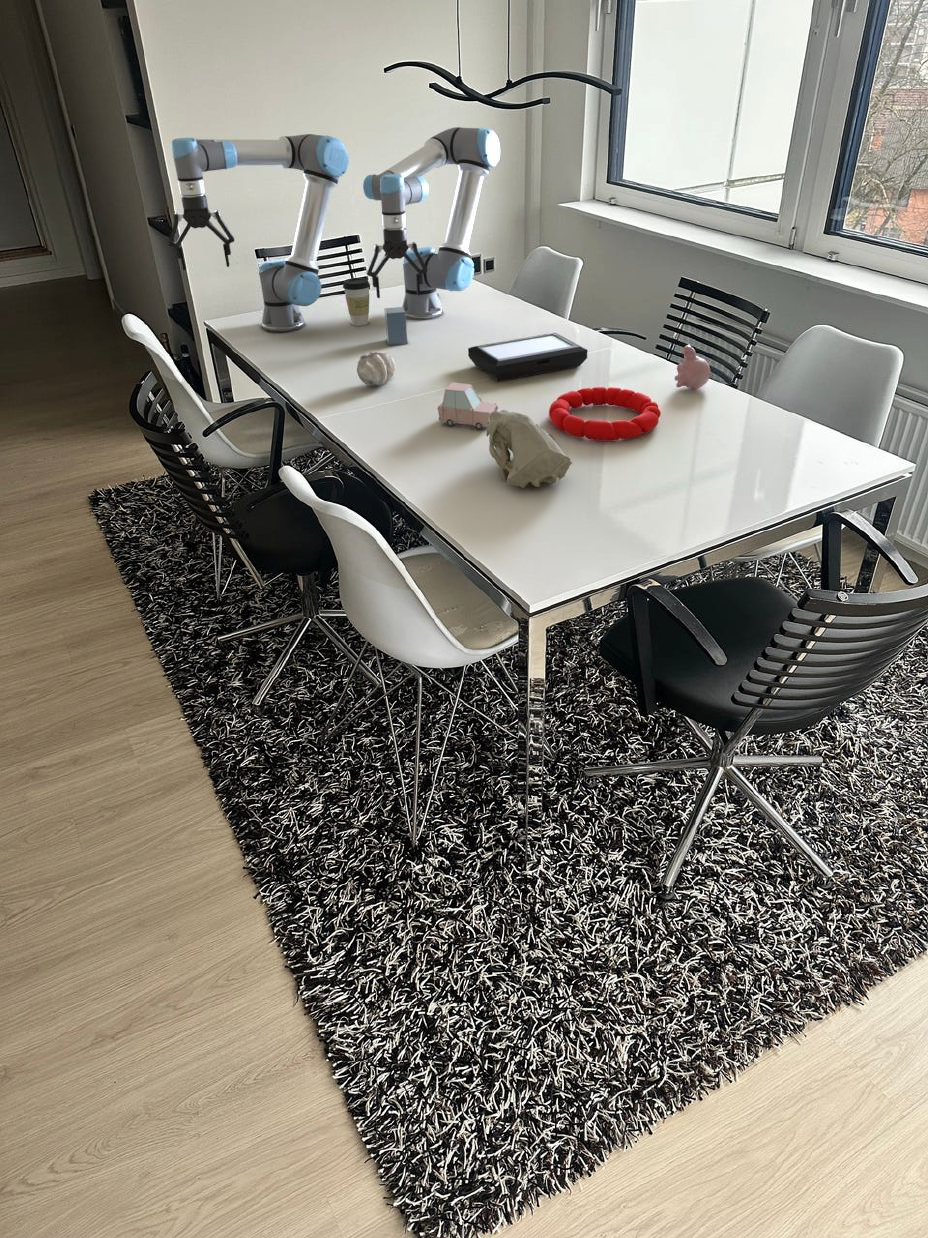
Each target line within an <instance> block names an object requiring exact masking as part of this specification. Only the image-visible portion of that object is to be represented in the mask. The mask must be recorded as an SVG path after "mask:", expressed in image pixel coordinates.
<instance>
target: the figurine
mask: <svg viewBox="0 0 928 1238" xmlns="http://www.w3.org/2000/svg"><path fill="white" fill-rule="evenodd" d="M682 354H683V358H684V359H683V361H682V362H679V363H678V364H677V365H676V372H677V375H675V376H674V381H675V382H676V381H677V382H676V384H675V386H676V388H681V387H686V388H688V389H693V390H694V389H695V390H696V389H700V388H703V387H704V386H705V385H706V384H707V383H708V382H709V379H710V377H711V367H710V364H709V362H708V361H706V359H704V358H702V357H700V356H697V353H696V350H695V349H694V347H692V345H690V344H686V345H685V346H684V347H683V348H682Z"/></svg>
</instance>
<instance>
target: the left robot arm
mask: <svg viewBox="0 0 928 1238" xmlns="http://www.w3.org/2000/svg"><path fill="white" fill-rule="evenodd" d="M170 145H171V151H172V159H173V163H174V167H175V172H176V177H177V184H178V188H179V194H180V195H181V198H180V199H181V204H182V211H183V213H178V212H175V213H174V214H173V221H174V222H173V226H172V230H171V233H170V237H169V241H168V246H169V247H172V248H174V249H175V253H176V258H177V259H178V260H181V265H182V271H187V265H186V259H185V254H184V249H183V246H181V244H182V242H183V241H184V239H185V238H186V236H187V234H188V232H189V231H190V229H191V228H192V229H198V228H200V229H205V228H206V227H207V228H208V230H210V231H211V232H213V233H214V235H216V237H218V238H219V239H220V240H221V242H223V244H222V246H223V252H224V259H225V263H226V265H225V266H226V267H227V268H229V267H230V260H229V256H231V255H232V250H231V244H232V243H234V242H235V237H234V235H233V233H232V232H231V231H230V229H229V227H228V226H227V224H226V223H225V222H224V220H223V218H222V216H221V213H220V211H219V210H218V209H216V210H215V211H210V209H209V204H208V199H207V196H206V194H205V193H206V187H205V182H204V177H203V173H206V172H213V171H221V170H228V169H233V168H235V167H236V166H237V167H238V166H239V167H241V166H280V167H281V168H282V169H292V170H293V169H294V170H297V171H303V172H302V173H303V174H302V175H303V178H304V180H305V186H304V190H303V191H304V192H303V196H302V201H301V207H300V210H299V215H298V221H297V226H296V230H295V235H294V240H293V244H292V250H291V255H290V256H289V257H287V258H277V259H271V260H266V261H262V262H260V263H259V264H258V275H259V281H260V287H261V292H262V293H261V294H262V299H263V313H262V319H261V326H262V330H264V331H265V332H271V333H286V332H293V331H296V330H297V331H298V330H300V329H302V328H304V326H305V318H304V317H303V314H302V312H301V310H300V307H308V306H311V305H313V304H314V303H315V302H317V301H318V300H319V297H320V295H321V292H322V282H321V281H320V280H321V279H320V277H318V276H319V273H320V268H319V266H318V265H317V260H318V256H319V251H320V246H321V241H322V236H323V232H324V227H325V223H326V218H327V212H328V208H329V203H330V200H331V194H332V191H333V189H335V188H336V187H338V184H339V180H340V177H342V176H343V175H344V174H345V173H347V170H348V168H349V164H350V157H349V152H348V149H347V147H346V146H345V144H344V142H343V141H341V140H340V139H339V138H337V137H334V136H330V135H323V134H321V135H320V134H315V133H314V134H313V133H307V134H304V133H303V134H297V135H288V136H286V135H285V136H283V135H282V136H280V137H279V138H278V139H222V138H221V139H217V138H215V139H214V138H213V139H212V138H211V139H204V138H203V139H201V138H194V137H178V138H174V139H172V140H171V143H170ZM211 217H213V219H214V220H216V221H217V223H218V224H219V226H220V228H221V229H222V230H223V232H224V233H225V235H226V236H227V237H226V236H225V235H224V234H223V232H221V231H220V230H219V229H218V228H217V227H216V226H215V225H214V224H213V222H211V220H210V219H211ZM182 219H184V221H185V222H186V225H185V226H184V228H183V230H182V232H181V233H180V234H179V237H178V238H177V240H176V241H175V238H176V234H177V231H178V228H179V222H181V221H182Z"/></svg>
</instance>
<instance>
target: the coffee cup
mask: <svg viewBox="0 0 928 1238" xmlns="http://www.w3.org/2000/svg"><path fill="white" fill-rule="evenodd" d="M370 287H371V283H370V282H369V279H367V278H365V277H351V278H347V279H345V280H344V281H343V285H342V288H343V290H344V297H345V301H346V305H347V310H348V314H349V318H350V323H351V325H353V326H357V327H359V326H365V325H368V324H369V317H370V316H369V313H370Z"/></svg>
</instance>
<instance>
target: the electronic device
mask: <svg viewBox="0 0 928 1238" xmlns="http://www.w3.org/2000/svg"><path fill="white" fill-rule="evenodd" d="M467 353H468V354H467V355H468V358H469V359H470V360H471V361H472V363H473V364H474V366H475V367H477V368H478V369H479V370H481V371H483V372H484V373H486V374H487V375H489V376H490V377H491V378H493V379H494V380H496V381H497V382H500V381H507V380H511V379H517V378H522V377H528V376H534V375H539V374H544V373H550V372H555V371H561V370H567V369H571V368H578V367H580V366H582V365H583V363H584V362H585V361H586V360H587V359H588V349H586V348H585V347H583V346H581V345H579V344H578V343H576V342H574V341H572V340H570V339H568V338H566V337H565V336H562V335H560V333H557V332H551V333H545V334H539V335H533V336H528V337H522V338H515V339H509V340H505V341H497V342H492V343H485V344H481V345H475V346H474V345H473V346H471V347H468V349H467Z"/></svg>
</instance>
